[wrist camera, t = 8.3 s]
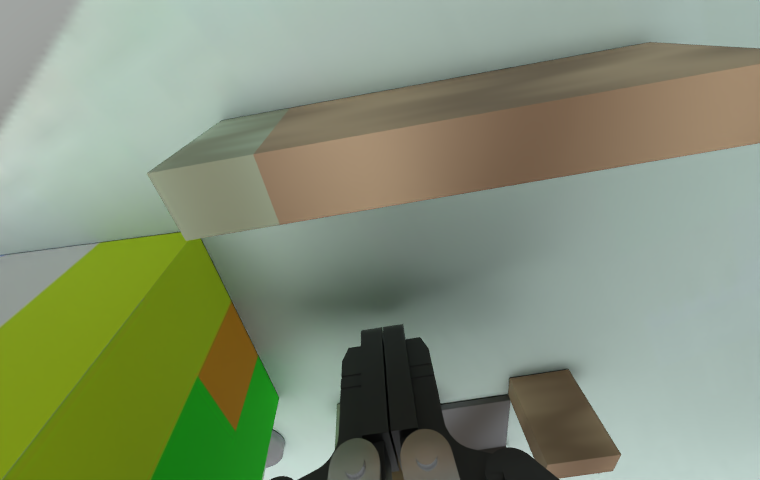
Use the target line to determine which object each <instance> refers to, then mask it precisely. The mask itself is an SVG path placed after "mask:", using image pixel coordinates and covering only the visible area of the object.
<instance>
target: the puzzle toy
mask: <svg viewBox="0 0 760 480" xmlns="http://www.w3.org/2000/svg"><path fill="white" fill-rule="evenodd" d="M278 400H279V397H278V395H277V393H276V391H275V389H274V387H273V385H272V383H271V381H270V379H269V376H268V374H267V372H266V370H265V368H264V366H263V364H262V362H261V360H260V358H259V356H258V354H257V352H256V350H255V348H254V346H253V344H252V342H251V340H250V338H249V336H248V334H247V332H246V330H245V328H244V326H243V324H242V322H241V320H240V317H239V315H238V313H237V311H236V309H235V307H234V305H233V303H232V301H231V299H230V297H229V295H228V293H227V291H226V289H225V287H224V285H223V283H222V281H221V279H220V277H219V275H218V273H217V271H216V269H215V267H214V265H213V263H212V261H211V259H210V256H209V254H208V252H207V250H206V248H205V246H204V244H203V242H202V240H201V238H199V239H194V240H188V241H186V240H185V239H184V237H183V235H182V233H181V232H177V233H169V234H161V235H154V236H146V237H139V238H131V239H123V240H116V241H108V242H101V243H93V244H85V245H78V246H70V247H63V248H55V249H47V250H40V251H32V252H24V253H17V254H9V255H2V256H0V480H262V477H263V472H264V468H265V463H266V458H267V453H268V448H269V444H270V439H271V434H272V429H273V424H274V419H275V415H276V410H277V405H278Z"/></svg>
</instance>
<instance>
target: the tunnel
mask: <svg viewBox="0 0 760 480" xmlns="http://www.w3.org/2000/svg"><path fill="white" fill-rule="evenodd" d="M757 143H760V49H757V48H740V47H723V46H706V45H689V44H671V43H654V42H649V43H643V44H638V45H632V46H627V47H621V48H616V49H610V50H605V51H599V52H594V53H588V54H583V55H578V56H572V57H567V58H561V59H556V60H550V61H545V62H539V63H534V64H528V65H523V66H517V67H512V68H506V69H501V70H496V71H490V72H485V73H479V74H474V75H468V76H463V77H457V78H452V79H446V80H441V81H435V82H430V83H424V84H419V85H414V86H408V87H403V88H397V89H392V90H386V91H381V92H375V93H370V94H364V95H359V96H353V97H348V98H342V99H337V100H332V101H326V102H321V103H315V104H310V105H304V106H299V107H293V108H288V109H282V110H277V111H271V112H266V113H260V114H255V115H250V116H244V117H239V118H233V119H228V120H222V121H220V122H219V123H217V124H216V125H214V126H213V127H212V128H210V129H209V130H207V131H206V132H205V133H203V134H202V135H200V136H199V137H197V138H196V139H195V140H193V141H192V142H190V143H189V144H188V145H186V146H185V147H183V148H182V149H181V150H179V151H178V152H176V153H175V154H173V155H172V156H171V157H169V158H168V159H166V160H165V161H164V162H162V163H161V164H159V165H158V166H157V167H155V168H154V169H152V170H151V171H149V172H148V173H147V175H148V176H149V178H150V180H151V181H152V183H153V185H154V187H155V188H156V190H157V192H158V194H159V195H160V197H161V199H162V200H163V202H164V204H165V206H166V207H167V209H168V211H169V213H170V214H171V216H172V218H173V220H174V221H175V223H176V225H177V226H178V228H179V230H180V232H181V233H182V235H183V237H184V239H185V240H186V241H188V240H194V239H199V238H205V237H211V236H217V235H223V234H229V233H235V232H241V231H246V230H252V229H258V228H264V227H270V226H276V225H282V224H287V223H293V222H299V221H305V220H311V219H317V218H323V217H329V216H334V215H340V214H346V213H352V212H358V211H364V210H370V209H376V208H381V207H387V206H393V205H399V204H405V203H411V202H417V201H422V200H428V199H434V198H440V197H446V196H452V195H458V194H464V193H469V192H475V191H481V190H487V189H493V188H499V187H505V186H510V185H516V184H522V183H528V182H534V181H540V180H546V179H552V178H557V177H563V176H569V175H575V174H581V173H587V172H593V171H598V170H604V169H610V168H616V167H622V166H628V165H634V164H640V163H645V162H651V161H657V160H663V159H669V158H675V157H681V156H686V155H692V154H698V153H704V152H710V151H716V150H722V149H728V148H733V147H739V146H745V145H751V144H757ZM510 401H511V403H512V406H513V408H514V410H515V413H516V415H517V418H518V420H519V423H520V425H521V427H522V430H523V432H524V435H525V437H526V440H527V442H528V444H529V447H530V449H531V452H532V454H533V457H534V459H535V460H536V461H537V462H538V463H540V464H541V465H542V466H543V467H545V468H546V469H547V470H548V471H550V472H551V473H552V474H553V475H555V476H556V477H557V478H558V479H559V478H566V477H573V476H580V475H587V474H595V473H602V472H609V471H613V470H614V468H615V466H616V464H617V462H618V460H619V458H620V456H621V453H620V452H619V450H618V449H617V447H616V445H615V444H614V442H613V440H612V439H611V437H610V436H609V434H608V432H607V431H606V429H605V428H604V426H603V424H602V423H601V421H600V419H599V418H598V416H597V415H596V413H595V411H594V410H593V408H592V406H591V405H590V403H589V402H588V400H587V398H586V397H585V395H584V394H583V392H582V390H581V389H580V387H579V385H578V384H577V382H576V381H575V379H574V377H573V376H572V374H571V372H570V371H569V369H568V370H561V371H555V372H548V373H541V374H535V375H528V376H521V377H515V378H510V380H509V391H508V395H504V396H498V397H491V398H484V399H477V400H471V401H464V402H457V403H450V404H444V405H441V409H442V413H443V418H444V422H445V426H446V428H447V430H448V432H449V433H450V435H451V436H452V437H453V438H454V439H455V440H456V441H457V442H458V443H460V444H461V445H463V446H465V447H468V448H471V449H474V450H479V451H483V452H487V453H492V454H493V453H494V452H495V451H497V450H499V449H501V448H506V438H507V428H508V418H509V408H510ZM339 416H340V404H337V419H336V439H335V448H336V446H337V442H338V436H339ZM398 462H399V460H398ZM392 480H404V478H403V472H402V471H401V467H400V463H399V471H396V472H392Z"/></svg>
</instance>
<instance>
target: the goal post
mask: <svg viewBox="0 0 760 480" xmlns="http://www.w3.org/2000/svg"><path fill="white" fill-rule="evenodd" d="M284 445H285V442H284V439H283V437H282V436H281V435H280V434H278V433H277V432H275V431H273V430H272V434H271V439H270V444H269V448H268V453H267V458H266V463H265V468H267V467H270V466H273V465H275V464H277V463H278V462H279V461H280V460H281V459H282V456H283V451H284ZM265 468H264V472H265ZM264 472H263V477H264ZM263 477H262V480H263Z"/></svg>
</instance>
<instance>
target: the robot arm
mask: <svg viewBox="0 0 760 480" xmlns="http://www.w3.org/2000/svg"><path fill="white" fill-rule="evenodd" d="M398 460H399V462H398ZM399 463H400V467H401V471H402V472H403V478H404V480H560V479H558V478H557V477H556V476H555V475H553V474H552V473H551V472H550V471H548V470H547V469H546V468H545V467H543V466H542V465H541V464H540V463H538V462H537V461H536V460H535V459H534V458H532V457H531V456H530V455H528V454H527V453H525V452H523V451H521V450H519V449H516V448H501V449H499V450H497V451H495V452H494V453H493V454H492V453H487V452H483V451H479V450H474V449H471V448H468V447H465V446H463V445H461V444H460V443H458V442H457V441H456V440H455V439H454V438H453V437H452V436H451V435H450V433H449V432H448V430H447V428H446V426H445V422H444V418H443V413H442V409H441V404H440V399H439V395H438V390H437V385H436V381H435V377H434V372H433V367H432V362H431V358H430V353H429V349H428V347H427V346H426V345H425V343H424V342H423V341H422V339H421V338H420V337H419V338H412V339H405V333H404V328H403V324H400V325H394V326H387V327H383V330H382V327H381V328H374V329H368V330H362V331H361V346H359V347H352V348H348V351H347V353H346V355H345V357H344V359H343V361H342V379H341V396H340V416H339V436H338V442H337V446H336V448H335V451H334V452H333V454H332V456H331V457H330V459H329V460H328V461H327V462H326V463H325V464H324V465H323V466H321V467H320V468H319V469H317V470H315V471H313V472H311V473H310V474H308V475H306V476H304V477H302V478H300V479H298V480H392V472H396V471H399ZM271 480H293V479H291V478H289V477H285V476H279V477H275V478H273V479H271Z"/></svg>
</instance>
